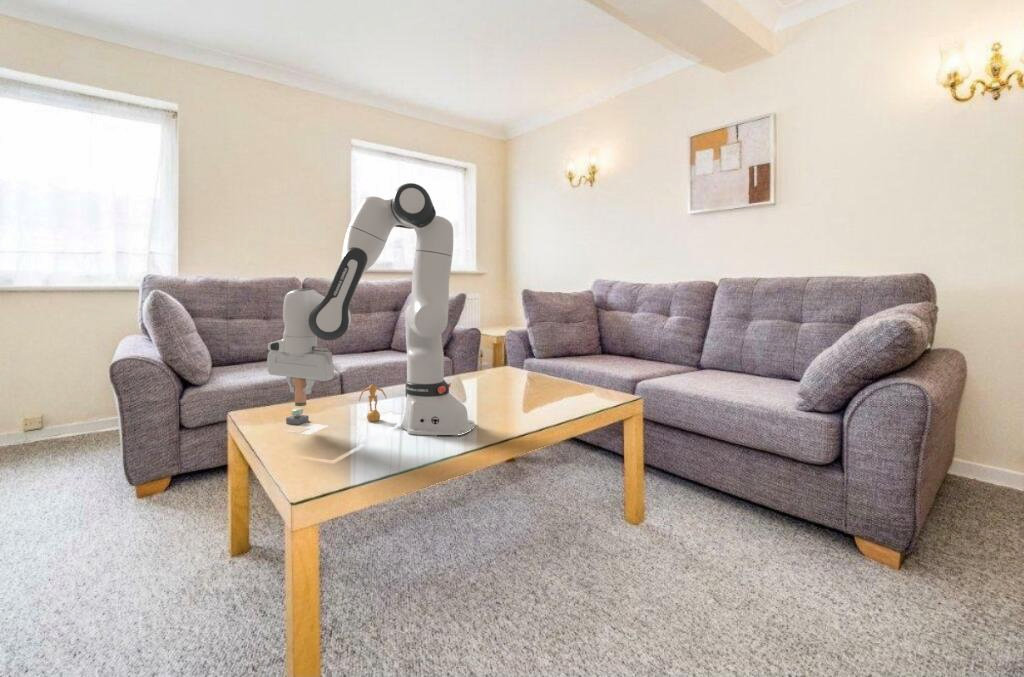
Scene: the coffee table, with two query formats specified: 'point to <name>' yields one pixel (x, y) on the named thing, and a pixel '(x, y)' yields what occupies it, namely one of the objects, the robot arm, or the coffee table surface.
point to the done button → (297, 412)
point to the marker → (300, 392)
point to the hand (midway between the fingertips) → (300, 392)
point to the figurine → (373, 414)
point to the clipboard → (303, 425)
